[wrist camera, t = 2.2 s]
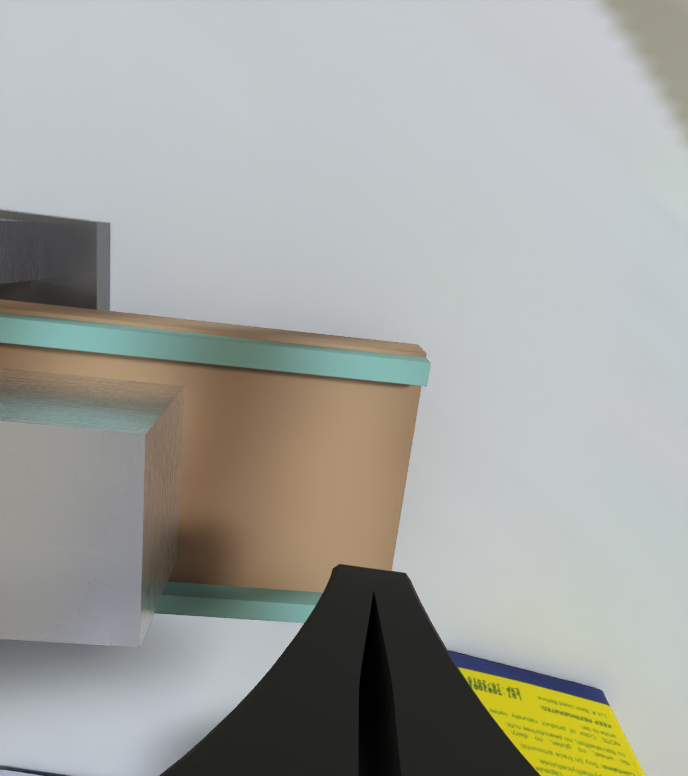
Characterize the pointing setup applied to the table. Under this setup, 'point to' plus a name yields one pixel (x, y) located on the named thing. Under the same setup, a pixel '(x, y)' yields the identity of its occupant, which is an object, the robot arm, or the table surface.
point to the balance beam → (255, 445)
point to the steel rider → (86, 505)
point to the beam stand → (54, 260)
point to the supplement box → (552, 720)
